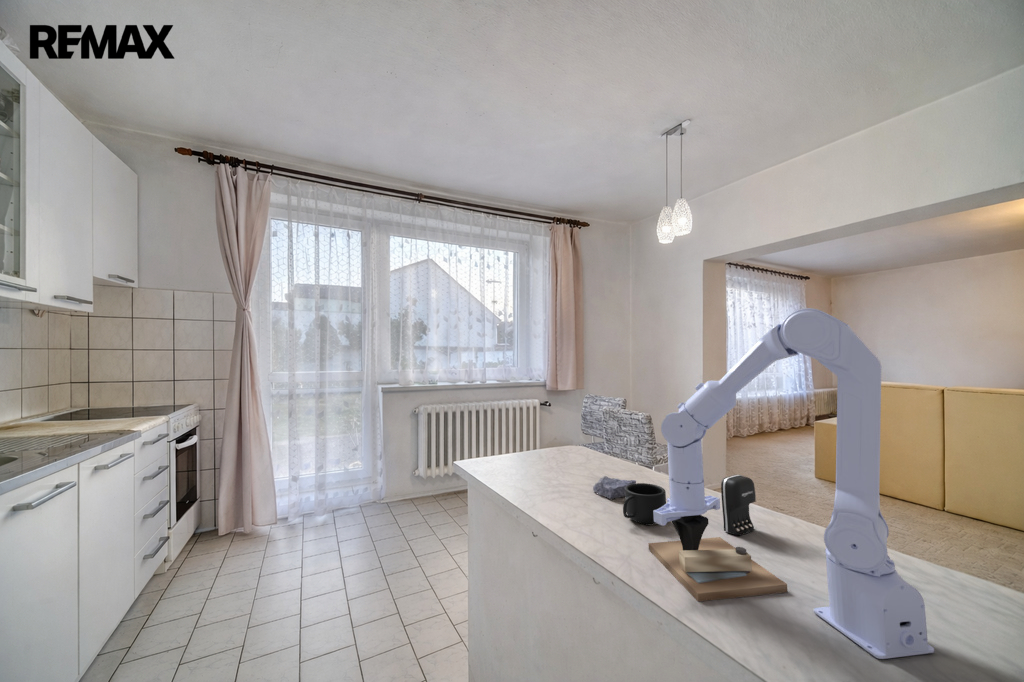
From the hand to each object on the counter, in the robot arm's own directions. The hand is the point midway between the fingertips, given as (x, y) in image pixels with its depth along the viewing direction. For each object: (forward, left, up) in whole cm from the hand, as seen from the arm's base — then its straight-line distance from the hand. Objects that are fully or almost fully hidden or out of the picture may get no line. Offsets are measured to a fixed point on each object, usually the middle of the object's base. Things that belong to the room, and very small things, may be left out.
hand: (690, 557), depth 70 cm
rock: (+41, 0, -3) cm, 41 cm away
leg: (-3, -3, 0) cm, 4 cm away
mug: (+21, -1, -2) cm, 22 cm away
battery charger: (+12, -19, -2) cm, 22 cm away
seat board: (0, -4, -2) cm, 4 cm away
